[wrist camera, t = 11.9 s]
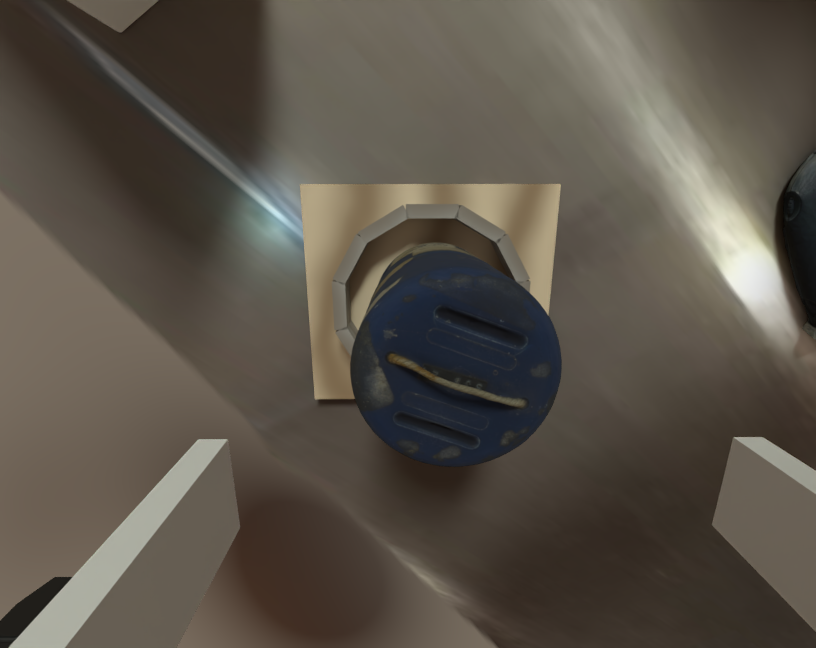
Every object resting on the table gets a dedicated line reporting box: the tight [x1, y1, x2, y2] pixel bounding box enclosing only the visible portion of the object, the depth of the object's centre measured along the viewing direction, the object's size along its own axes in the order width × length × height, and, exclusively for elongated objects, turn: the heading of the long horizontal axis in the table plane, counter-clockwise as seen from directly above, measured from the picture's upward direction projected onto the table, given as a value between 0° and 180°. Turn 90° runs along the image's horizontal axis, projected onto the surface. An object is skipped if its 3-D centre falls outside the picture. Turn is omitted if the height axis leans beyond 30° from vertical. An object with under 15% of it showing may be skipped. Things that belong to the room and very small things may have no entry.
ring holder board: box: [300, 184, 561, 399], centre depth 33 cm, size 20×18×4 cm
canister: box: [350, 243, 562, 467], centre depth 25 cm, size 10×10×18 cm
